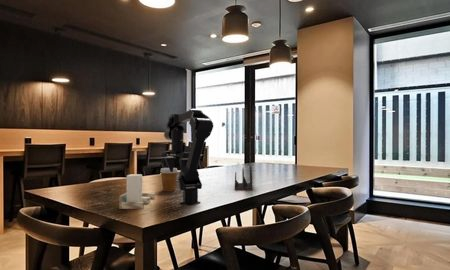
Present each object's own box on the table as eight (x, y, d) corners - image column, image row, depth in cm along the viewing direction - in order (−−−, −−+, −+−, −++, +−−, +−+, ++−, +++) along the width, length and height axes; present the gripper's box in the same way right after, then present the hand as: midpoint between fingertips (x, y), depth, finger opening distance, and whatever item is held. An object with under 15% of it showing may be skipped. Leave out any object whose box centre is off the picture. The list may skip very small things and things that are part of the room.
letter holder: (251, 185, 182) (251, 162, 182) (252, 190, 162) (252, 165, 162) (234, 185, 182) (234, 162, 183) (234, 190, 162) (234, 165, 163)
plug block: (141, 204, 126) (142, 174, 126) (138, 207, 121) (138, 175, 121) (130, 204, 126) (130, 174, 126) (126, 207, 121) (126, 175, 121)
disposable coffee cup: (158, 191, 157) (158, 169, 157) (162, 188, 166) (162, 167, 166) (175, 192, 156) (175, 169, 157) (179, 189, 166) (179, 167, 166)
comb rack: (155, 198, 139) (155, 187, 139) (142, 208, 118) (142, 196, 118) (135, 198, 139) (135, 187, 139) (119, 208, 118) (119, 196, 118)
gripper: (202, 140, 140) (202, 173, 140) (179, 140, 154) (179, 170, 153) (184, 140, 133) (184, 175, 132) (161, 140, 146) (161, 171, 145)
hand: (177, 172), depth 141 cm, fingers open, 9 cm apart
